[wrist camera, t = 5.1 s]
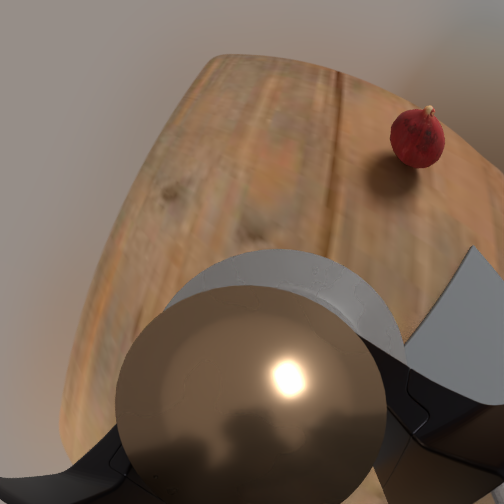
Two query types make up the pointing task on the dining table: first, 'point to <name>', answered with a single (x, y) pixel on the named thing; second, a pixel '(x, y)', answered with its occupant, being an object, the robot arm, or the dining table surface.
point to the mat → (464, 334)
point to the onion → (417, 137)
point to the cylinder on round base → (259, 384)
